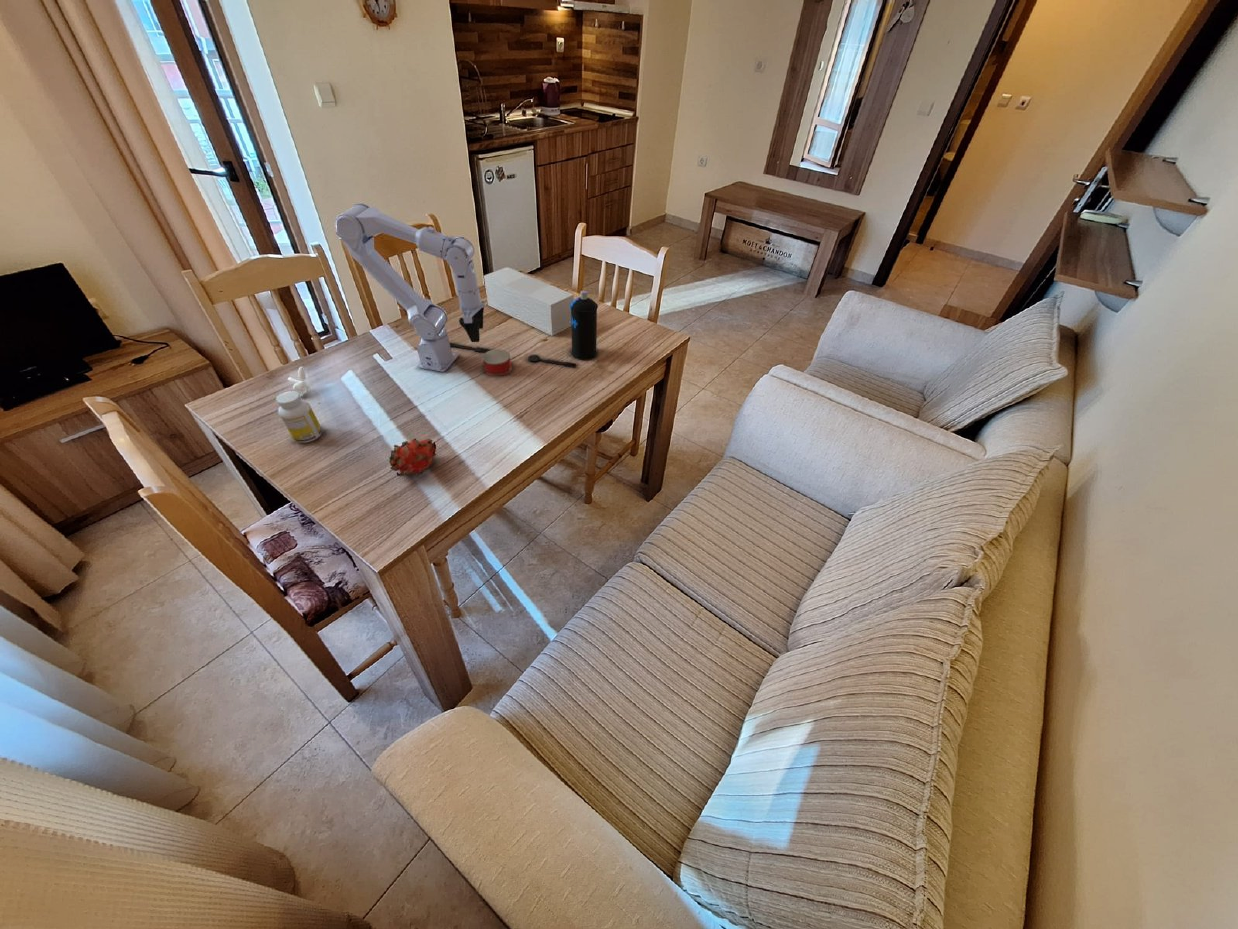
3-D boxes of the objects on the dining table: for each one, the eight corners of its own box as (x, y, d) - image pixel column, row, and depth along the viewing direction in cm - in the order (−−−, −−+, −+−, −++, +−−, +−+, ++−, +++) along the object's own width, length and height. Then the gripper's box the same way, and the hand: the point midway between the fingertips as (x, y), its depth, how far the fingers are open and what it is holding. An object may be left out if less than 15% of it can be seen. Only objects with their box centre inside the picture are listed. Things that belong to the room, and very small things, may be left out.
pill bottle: (315, 423, 120) (295, 385, 112) (328, 434, 117) (309, 396, 109) (288, 435, 116) (266, 397, 108) (301, 447, 113) (279, 408, 105)
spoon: (573, 369, 143) (573, 367, 143) (526, 361, 145) (526, 359, 145) (577, 363, 146) (577, 361, 145) (530, 355, 148) (530, 353, 147)
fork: (487, 353, 147) (487, 352, 147) (442, 346, 149) (442, 345, 149) (490, 350, 149) (490, 348, 149) (446, 342, 151) (445, 341, 151)
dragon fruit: (392, 487, 108) (436, 464, 116) (409, 484, 102) (454, 460, 110) (373, 453, 106) (420, 432, 114) (389, 448, 100) (436, 426, 108)
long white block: (574, 324, 163) (573, 294, 156) (552, 336, 157) (550, 305, 149) (510, 295, 177) (507, 266, 169) (488, 305, 171) (483, 275, 163)
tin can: (505, 377, 138) (503, 365, 135) (480, 373, 139) (478, 360, 136) (515, 363, 144) (514, 351, 141) (491, 359, 145) (489, 347, 142)
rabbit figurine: (289, 400, 126) (281, 375, 128) (303, 404, 130) (295, 379, 132) (305, 389, 125) (297, 364, 127) (318, 393, 128) (311, 368, 130)
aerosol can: (598, 347, 153) (599, 286, 139) (595, 361, 147) (596, 299, 133) (573, 345, 153) (572, 284, 139) (568, 358, 147) (567, 296, 133)
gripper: (478, 299, 122) (488, 347, 131) (486, 276, 132) (494, 322, 142) (450, 300, 122) (462, 347, 131) (460, 277, 132) (470, 322, 141)
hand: (477, 334), depth 136 cm, fingers open, 7 cm apart
